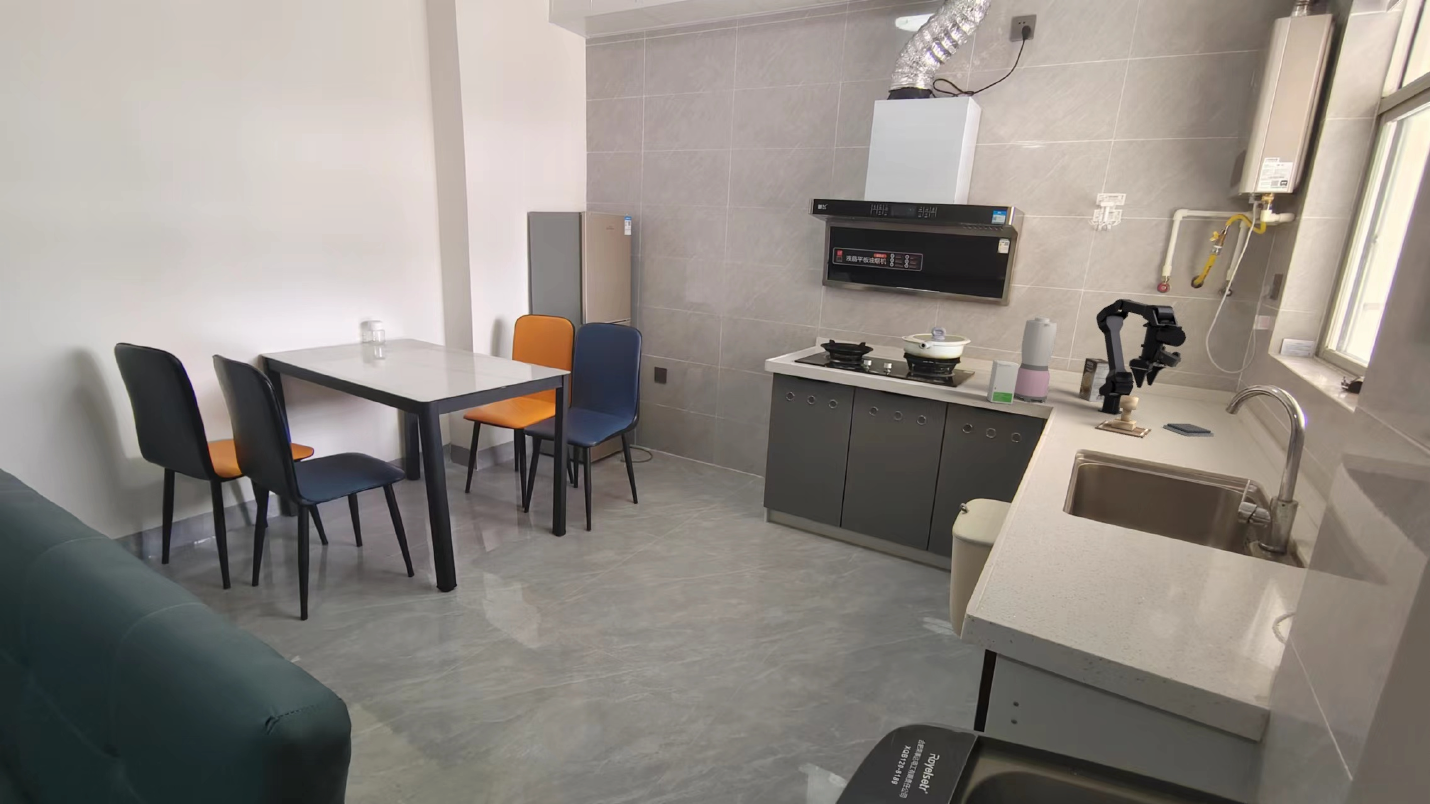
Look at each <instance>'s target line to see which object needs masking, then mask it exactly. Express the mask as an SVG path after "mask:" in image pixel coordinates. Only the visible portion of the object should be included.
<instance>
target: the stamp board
mask: <svg viewBox="0 0 1430 804" xmlns="http://www.w3.org/2000/svg"><path fill="white" fill-rule="evenodd" d="M1112 422H1113V421H1110V420H1104V421H1102V422H1101V423H1100V424H1098V425H1096V426H1095V428H1094V429H1095V430H1100V431H1106V432H1111V433H1116V434H1121V435H1126V436H1131V437H1134V438H1135V437H1136V438H1139V437H1141V438H1140V439H1144V438H1145V437H1146V436H1147V435H1149V433H1150V432H1152V429H1151V428H1146V427H1141V426H1136V428H1135V429H1134V430H1133V431H1132V432H1130V431H1125V430H1120V429H1115V428H1111V427H1112ZM1145 435H1146V436H1145ZM1143 437H1144V438H1143Z"/></svg>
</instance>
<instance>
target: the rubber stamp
mask: <svg viewBox="0 0 1430 804" xmlns="http://www.w3.org/2000/svg"><path fill="white" fill-rule="evenodd" d="M1139 399H1140V398H1139V397H1137V396H1134V395H1129V396H1128V395H1122V396H1121V399H1120V404H1119V407H1120V409H1121V411H1122V413H1121V415H1120V417H1116V418H1114V419H1112V421H1111V422H1112V427H1111V428H1115V429H1120V430H1125V431H1130V432H1132V431H1133V430H1134V429H1135V428H1136V427H1137V424H1138V423H1137V422H1138V421H1137V420H1134V419H1133V420H1132V419H1131V415H1132V411H1136V410H1137V408H1138V403H1139Z"/></svg>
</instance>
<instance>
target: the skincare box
mask: <svg viewBox="0 0 1430 804" xmlns="http://www.w3.org/2000/svg"><path fill="white" fill-rule="evenodd" d="M1019 367H1020V364H1019V363H1017V362H1015V361H1008V360H1000V359H993V360H992V365H991V371H990V377H989V383H988V388H987V394H986V400H988V402H990V403H994V404H995V403H996V404H1003V405H1004V404H1006V405H1013V401H1014V397H1015V396H1014V391H1015V385H1016V380H1017V374H1018V368H1019Z"/></svg>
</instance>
